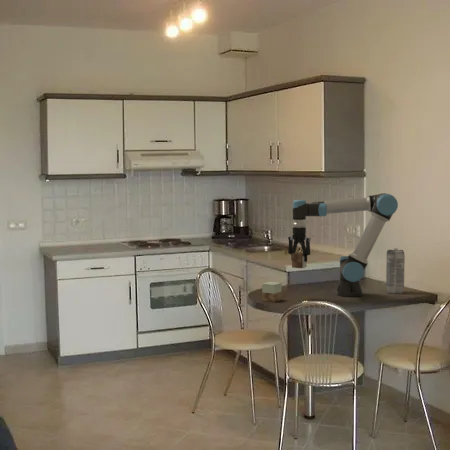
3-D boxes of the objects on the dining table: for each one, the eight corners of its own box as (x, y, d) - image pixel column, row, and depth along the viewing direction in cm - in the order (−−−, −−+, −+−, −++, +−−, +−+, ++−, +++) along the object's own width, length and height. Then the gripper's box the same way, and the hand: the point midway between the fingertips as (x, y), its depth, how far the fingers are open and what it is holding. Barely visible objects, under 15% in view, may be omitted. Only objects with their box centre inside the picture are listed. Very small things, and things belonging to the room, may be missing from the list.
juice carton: (404, 294, 424) (405, 249, 422) (386, 293, 426) (386, 248, 424) (403, 291, 433) (404, 247, 431) (385, 291, 435) (386, 247, 433)
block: (306, 267, 411) (306, 253, 411) (300, 268, 407) (300, 254, 406) (297, 266, 415) (297, 252, 414) (292, 267, 410) (292, 253, 410)
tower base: (281, 300, 409) (281, 291, 408) (273, 302, 403) (273, 293, 402) (269, 298, 414) (269, 290, 413) (262, 300, 407) (262, 292, 407)
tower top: (281, 291, 409) (281, 282, 408) (274, 293, 402) (274, 284, 402) (269, 290, 413) (269, 281, 413) (262, 292, 407) (262, 283, 406)
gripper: (281, 226, 412) (281, 266, 414) (310, 228, 400) (310, 268, 402) (288, 225, 418) (288, 264, 420) (316, 227, 406) (316, 267, 408)
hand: (299, 266), depth 411 cm, fingers closed on block, 6 cm apart
